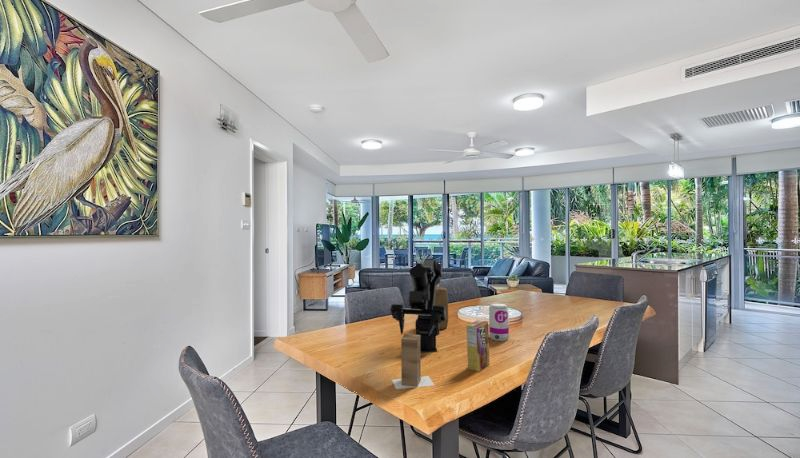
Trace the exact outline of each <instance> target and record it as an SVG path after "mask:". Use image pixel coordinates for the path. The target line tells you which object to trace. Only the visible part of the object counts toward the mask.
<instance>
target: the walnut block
mask: <svg viewBox="0 0 800 458" xmlns="http://www.w3.org/2000/svg"><path fill="white" fill-rule="evenodd" d="M400 343H401V344H400V349H401V350H400V353H401V354H400V355H401V357H400V360H401V366H400V367H401V370H400V371H401V373H400V374H401V375H400V376H401V379H402V385H406V386H417V387H416V388H419V387H418V385H419V382H420V380H421V377H422V376H421V351H420V335H416V334H408V333H407V334H406V333H405V334H404V335H402V337H401V338H400Z"/></svg>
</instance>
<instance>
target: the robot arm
mask: <svg viewBox="0 0 800 458" xmlns="http://www.w3.org/2000/svg"><path fill="white" fill-rule="evenodd" d="M409 275H410V276H409V277H410V279H411V284H412V286H413V290H409V291H408V305H409V307H404V304H403V303H393V304H391V305H390V313H391V317H392V318H393V319H395V321H398V322H399V323H398V324H399V330H400V331H399V332H400V334H401V335H403V333H404V328H405V327H404V326H405V315H416V316H417V318H416V319H415V335H420V353H426V352H427V353H428V352H438V348H437V337H438V336H439V335H440V329H439V324H438V323H441V322H442V321H445V320H446V312H445V307H444V306H438V305H434V301H435V292H436V287H438V285H439V283H441V279H442V278H443V267H442V265H441V264H440V263H439V262H437V258H424V262H422V263H421V262H419V263H416V265H414V266H413V267H411V268H410V270H409Z"/></svg>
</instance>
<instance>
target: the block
mask: <svg viewBox="0 0 800 458" xmlns="http://www.w3.org/2000/svg"><path fill="white" fill-rule="evenodd" d="M447 289H448V288H446V287H444V286H436V292H435V301H434V305H438V306H444V307H445V312H446V320H445V321H442V322H441V323H438V324H439V330H445V329H447V328H448V324H449V299H448V298H449V296H448V290H447Z"/></svg>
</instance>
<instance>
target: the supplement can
mask: <svg viewBox="0 0 800 458" xmlns="http://www.w3.org/2000/svg"><path fill="white" fill-rule="evenodd" d="M488 312H489V313H488V315H489V317H488V335H489V338H490V339H491V340H492V339H493V340H492V341H496V342H504V341H508V339H509V338H510V336H509V335H510V333H509V329H510V327H509V326H510V323H509V307H508V305H507V304H506V303H497V302H496V303H490V305H489V307H488Z"/></svg>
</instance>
